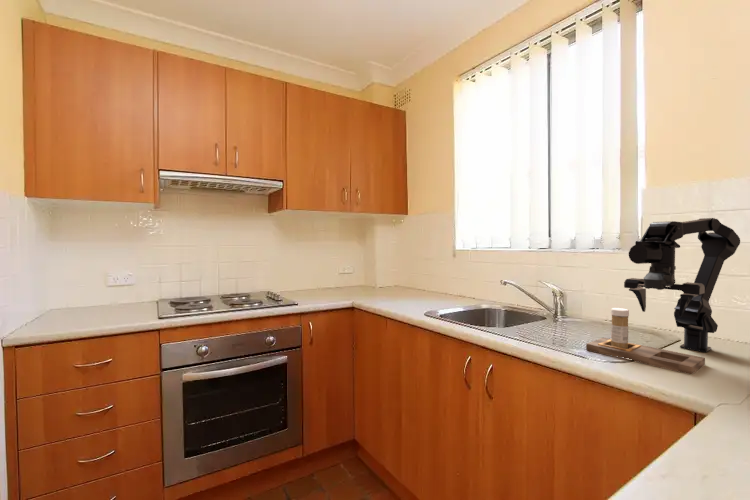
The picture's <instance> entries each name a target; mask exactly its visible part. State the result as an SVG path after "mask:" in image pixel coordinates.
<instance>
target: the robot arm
mask: <svg viewBox="0 0 750 500" xmlns="http://www.w3.org/2000/svg"><path fill="white" fill-rule="evenodd" d="M696 233H697V239H698V241H700V242H701V246H700V248H701V251H702V252H703V256H704V257H703V259H702V261H701V264H700V266H699V269H698V271H697V274H696V276H695V279H694V281H693V282H689V281H687V282H684V283H681V284H680V283H676V278H675V274H676V271H675V270H676V269H677V268H676V249H679V248H681V245H680V244H679V243H677V242H676V240H679V239H683V237H684V236H685V235H690V234H696ZM634 243H635V244H634V245H633V246H631V247H630V249H629V251H628V258H629V260H630V262H632V263H634V264H637V265H639V264H640V265H641V264H643V265H644V264H650V266H649V270H648V272H647V273H646V274H645V275H644V277H643V278H636V277H630V278H626V279H625V280H624V282H623V283H624V284H623V288H624V289H625V288H626V289H628V291H629V292H632V293H633V294H634V295H635V297H636V298H637V300H638V304H639V306H640V308H641V311H642V313H645V312H646V309H647V289H648V290H650V289H654V290H658V291H659V290H661V291H662V290H671V291H672V290H673V291H681V292H682V293H680V294H679V299H677V304H676V305H675V307H674V312H673V315H674V316H673V317H674V321H675V325H676V327H678V328H683V329H684V331H683V332H684V333H683V344H680V345H679V348H682V349H685V350H693V351H696V352H701V353H707V352H709V351H710V350H712V347H711V346H709V345H708V343H709V333H710V334H714V333H716V332H717V330H718V327H719V325H718V323H717V322H716V320H714V319H713V317H712V314H713V310H712V307H711V305H710V299H711V297H712V293H713V292H714V288H715V286H716V283H717V281H718V279H719V275H720V274H721V273H720V272H721V270H722V267H723V265H724V263H725V261H726V260H727V259H729V258H730V257H732V256H733V255H735V253H736V251H737V250H738V247H739V246H740V245H741V238H740V236H739V235H738V234H737V232H735V230H734V229H733V228H731V227H730V226H727V225H725V224H723V223H721V221H720V220H719V219H718V218H715V217H709V218H707V217H706V218H705V217H704V218H703V217H702V218H699V219H694V220H693V219H692V220H688V221H673V220H672V221H653V222H651V223H649V226H648V227H647V229H646V231H645V232H644V234H643V235H642V237H641V239H640V240H635V242H634Z"/></svg>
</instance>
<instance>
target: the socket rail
mask: <svg viewBox="0 0 750 500" xmlns="http://www.w3.org/2000/svg"><path fill="white" fill-rule="evenodd" d="M585 347H586V348H585V350H586V351H589V352H594V353H597V354H601V355H605V354H606V356H610V355H612V356H611V357H614V356H618V357H624V358H629V359H632V360H634V361H633V362H635V361H636V362H635V363H640V364H644V365H649V366H653V367H657V368H662V369H666V370H671V371H674V372H679V373H682V374H687V375H693V374H695V373H696V372H698V371H699V370H700V369H702V368H703V367H705V365H706V357H702V356H699V355H698V356H697V355H693V354H688V353H683V352H678V351H673V350H669V349H668V350H667V349H662V348H657V347H652V346H648V345H644V344H639V343H632V342H628V349H624V348H619V347H614V346H611V338H608V337H601V338H598V339H595V340H593V341H590V342H587V343H586V346H585ZM618 357H617V358H618Z"/></svg>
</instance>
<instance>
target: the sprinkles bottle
mask: <svg viewBox="0 0 750 500" xmlns="http://www.w3.org/2000/svg"><path fill="white" fill-rule="evenodd" d="M610 311H611V312H610V314H611V327H610V328H611V329H610V332H611V333H610V339H611V346H614V347H619V348H624V349H628V343H629V316H630V310H629V309H627V308H622V307H612V308H611V310H610Z"/></svg>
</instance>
